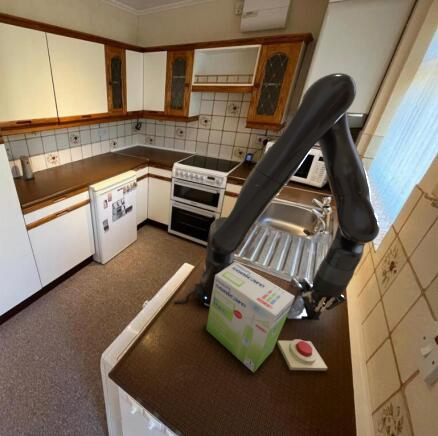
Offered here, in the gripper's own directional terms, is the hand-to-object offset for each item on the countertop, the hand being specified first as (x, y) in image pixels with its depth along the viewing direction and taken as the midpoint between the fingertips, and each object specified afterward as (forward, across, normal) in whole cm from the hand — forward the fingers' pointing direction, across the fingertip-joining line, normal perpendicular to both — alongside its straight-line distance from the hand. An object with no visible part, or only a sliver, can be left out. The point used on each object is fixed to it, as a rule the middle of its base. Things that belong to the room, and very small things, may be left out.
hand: (312, 316), depth 75 cm
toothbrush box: (+7, +24, +4) cm, 25 cm away
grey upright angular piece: (+7, 0, -9) cm, 11 cm away
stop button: (+3, +7, +9) cm, 12 cm away
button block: (+6, +7, +9) cm, 14 cm away
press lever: (-1, 0, -5) cm, 5 cm away
